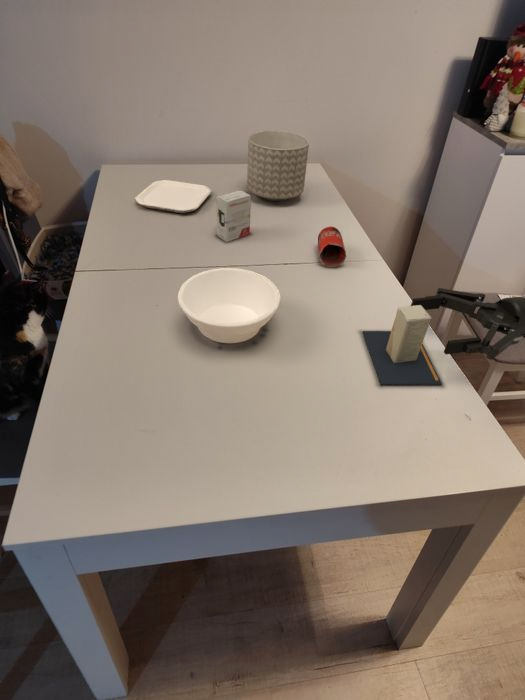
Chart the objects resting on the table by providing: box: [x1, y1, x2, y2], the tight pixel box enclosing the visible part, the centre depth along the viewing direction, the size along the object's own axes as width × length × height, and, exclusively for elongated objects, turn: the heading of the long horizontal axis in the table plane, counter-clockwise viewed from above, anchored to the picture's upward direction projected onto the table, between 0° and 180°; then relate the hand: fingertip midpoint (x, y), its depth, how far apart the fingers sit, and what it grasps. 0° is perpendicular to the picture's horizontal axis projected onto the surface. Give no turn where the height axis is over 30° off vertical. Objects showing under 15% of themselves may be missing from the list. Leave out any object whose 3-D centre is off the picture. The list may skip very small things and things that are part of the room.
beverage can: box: [317, 225, 347, 268], centre depth 119 cm, size 7×12×7 cm, turn 178°
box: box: [386, 305, 432, 363], centre depth 88 cm, size 5×4×11 cm
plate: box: [134, 179, 213, 214], centre depth 143 cm, size 21×21×2 cm
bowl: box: [177, 267, 282, 344], centre depth 94 cm, size 21×21×8 cm
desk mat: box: [362, 330, 443, 386], centre depth 91 cm, size 16×12×1 cm
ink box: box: [216, 189, 252, 243], centre depth 124 cm, size 9×5×12 cm, turn 130°
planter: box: [246, 130, 310, 202], centre depth 145 cm, size 19×19×18 cm
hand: (428, 325), depth 87 cm, fingers open, 13 cm apart
